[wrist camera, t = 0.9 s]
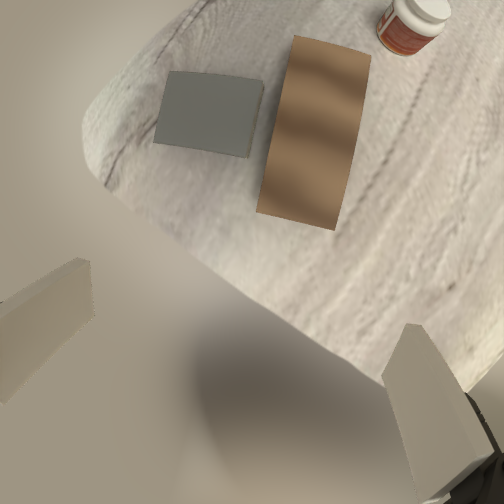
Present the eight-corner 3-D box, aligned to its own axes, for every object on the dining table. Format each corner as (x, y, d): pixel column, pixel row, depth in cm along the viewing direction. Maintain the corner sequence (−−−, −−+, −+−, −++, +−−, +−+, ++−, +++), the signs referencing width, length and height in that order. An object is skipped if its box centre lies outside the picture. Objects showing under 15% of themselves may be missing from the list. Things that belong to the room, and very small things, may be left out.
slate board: (178, 77, 30) (169, 71, 27) (264, 87, 30) (262, 80, 27) (163, 144, 33) (153, 142, 30) (248, 158, 33) (245, 157, 30)
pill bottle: (425, 56, 25) (466, 28, 15) (385, 58, 26) (420, 24, 16) (407, 18, 23) (441, -18, 13) (368, 18, 25) (393, -24, 14)
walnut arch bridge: (293, 54, 28) (294, 35, 22) (358, 71, 27) (371, 55, 22) (260, 204, 34) (255, 212, 28) (326, 219, 33) (334, 230, 28)
